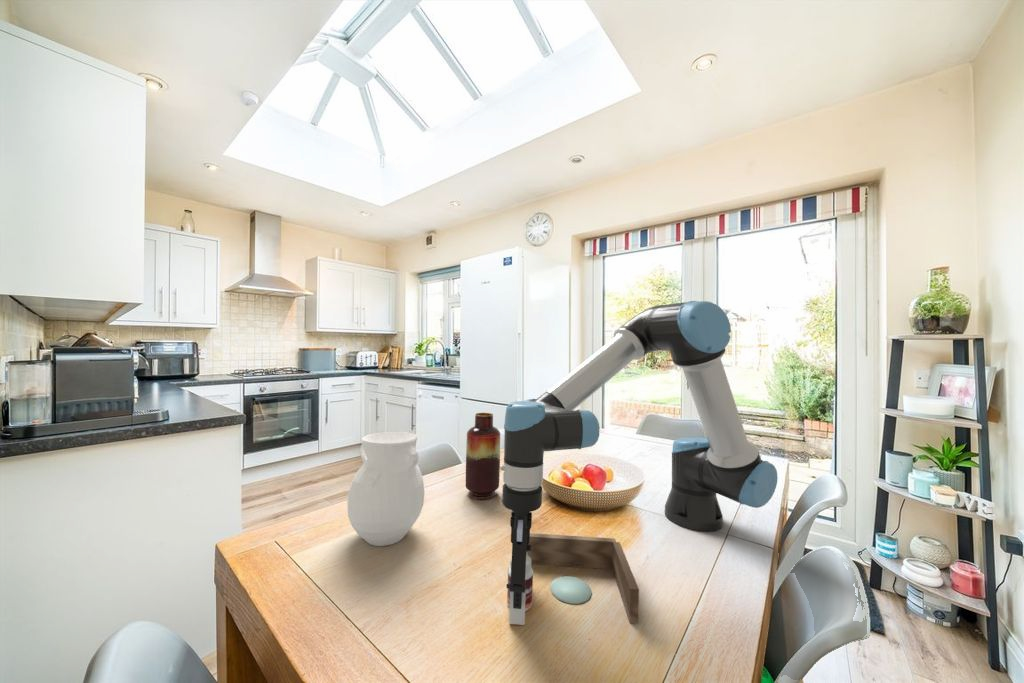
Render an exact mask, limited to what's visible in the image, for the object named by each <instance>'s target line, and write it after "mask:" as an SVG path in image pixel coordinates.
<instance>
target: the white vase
mask: <svg viewBox="0 0 1024 683" xmlns="http://www.w3.org/2000/svg"><path fill="white" fill-rule="evenodd" d="M417 440H418V437H417V435H416V434H415V433H414V432H410V431H403V430H390V431H389V430H388V431H387V430H386V431H378V432H373V433H369V434H366V435H364V436H363V437H362V438H361V440H360V441H361V445H360V447H359V449H358V450H359V451H358V452H359V454H360V459H361V461H362V465H361V466H360V467H359V468H358V469H357V472H355V474H354V476H353V478H352V481H351V483H350V485H349V488H348V494H347V517H348V521H349V522H350V525H351V527H352V528H353V530H354V531H355V532H356V534H357V535H359V536H360V537H361V538H362V539H363V540H364V541H365V542H367V544H369V545H372V546H376V547H384V546H385V547H387V546H390V545H394V544H396V543H399V542H400V541H402V539H404V537H405V536H406V535H407V534H408V533H409V532H410V530H411V529H412V527H413V526H414V524H415V523H416V522H417V520H418V519H419V517H420V515H421V513H422V509H423V507H424V503H425V502H424V501H425V485H424V484H425V483H424V476H423V475H422V472H421V469H420V468H419V466H418V463H419V452H418V451H417V449H416V448H415V446H416V444H417Z"/></svg>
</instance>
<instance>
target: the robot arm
mask: <svg viewBox="0 0 1024 683" xmlns="http://www.w3.org/2000/svg"><path fill="white" fill-rule="evenodd" d="M730 322H731V321H730V319H729V317H728V316H727V314H726V312H725V310H724V309H722V308H721V307H720V306H719V305H718V304H715V303H714V302H712V301H707V300H701V301H698V300H690V301H686V302H677V303H670V304H660V305H655V306H651V307H648V308H647V309H644V310H643V311H641V312H639V313H637V315H635V316H633V317H632V318H630V319H629V320H627V321H626V322H625V323H623V324H622V325H621V326H619V327H618V328H617V329H616V330H615V331H614V333H613V337H612V338H611V339H610V340H609V341H607V342H606V343H604V345H602V346H601V347H600V348H599V349H597V350H596V351H595V352H594V353H593V354H591V355H590V356H589V357H587V358H586V359H585V360H583V362H581V363H580V364H579V365H577V366H576V367H575V368H574V369H573V370H571V371H570V372H569V373H567V374H566V375H565V376H564V377H562V378H561V379H560V380H559V381H558V382H557V383H554V385H552V386H551V387H550V388H549V389H547V390H546V391H545V392H544V393H543V394H541V395H540V396H538V397H537V398H528V399H526V400H518V401H512V402H510V403H508V404H507V406H506V409H505V416H504V425H503V428H504V437H503V438H504V442H503V444H504V445H503V446H504V448H503V449H504V450H503V452H504V453H503V454H504V455H503V464H502V465H501V464H500V471H503V475H502V476H503V477H502V480H503V481H502V482H503V483H504V484H502V496H501V497H502V498H501V500H502V501H501V502H502V505H503V506H504V508H506V509H507V510H510V511H511V513H510V514H511V516H510V523H509V525H510V527H511V530H510V543H511V557H512V562H511V583H510V584H508V583H506V587H505V588H506V589H508V588H509V589H510V607H509V609H508V610H509V612H508V613H509V617H508V618H509V619H508V624H509V625H510V624H511V625H521V626H524V625H526V624H525V623H526V621H525V620H526V611H525V597H526V584H525V572H526V555H528V552H526V551H531V545H528V544H529V541H530V533H531V529H532V521H533V520H532V519H533V516H532V515H533V512H534V511H535V512H536V511H537V510H538V509H540V508H541V507H542V504H543V487H542V485H543V482H544V455H545V454H544V453H545V452H552V451H553V452H555V451H565V450H567V451H568V450H581V449H585V448H590V447H591V448H592V447H593V446H594V445H596V443H597V442H598V441H599V438H600V430H601V429H600V422H599V420H598V418H597V417H596V415H595V414H594V413H593V412H592V411H590V410H585V409H583V410H581V409H577V408H578V407H579V406H580V405H581V404H583V403H584V402H585V401H586V400H587V399H588V398H590V397H591V396H593V394H595V393H596V392H597V391H598V390H600V389H601V388H602V387H603V386H604V385H605V384H606V383H608V382H609V381H610V380H611V379H612V378H613V377H615V376H616V375H617V374H619V372H621V371H622V370H623V369H624V368H625V367H626V366H628V365H629V364H630V363H632V362H633V360H635V361H637V360H641V359H642V358H643V357H645V356H646V355H647V354H650V353H652V352H656V351H657V352H658V351H661V352H662V351H663V352H666V351H667V352H669V354H670V356H671V360H672V363H673V364H674V366H677V367H679V368H681V369H682V370H683V373H684V376H685V379H686V382H687V385H688V388H689V391H690V393H691V397H692V400H693V402H694V405H695V408H696V410H697V414H698V416H699V420H700V422H701V426H702V428H703V430H704V431H703V432H704V433H705V436H706V437H679V438H676V439H674V441H673V443H672V450H671V489H670V491H669V493H668V496H667V499H666V501H665V504H664V515H665V518H667V519H668V520H669V521H671V522H672V523H674V524H675V525H678V526H681V527H682V528H687V529H690V530H695V531H701V532H714V531H715V532H716V531H718V530H721V529H722V528H723V525H724V516H723V513H722V512H723V511H722V509H721V506H720V504H719V500H718V497H717V494H718V495H720V496H723V497H725V498H727V499H729V500H732V501H733V502H737V503H739V504H740V505H745V506H748V507H751V508H754V509H755V508H762V507H764V506H766V504H768V503H769V501H770V500H771V499H772V498H773V495H774V494H775V491H776V488H777V485H778V478H779V477H778V471H777V468H776V467H775V465H774V464H773V463H771V462H769V461H768V460H763V459H762V458H761V455H760V452H759V450H758V448H757V446H756V445H755V444H754V443H753V442H751V441H749V440H748V437H747V435H746V431H745V429H744V426H743V422H742V420H741V417H740V414H739V411H738V407H737V404H736V400H735V399H734V394H733V392H732V389H731V386H730V383H729V379H728V377H727V374H726V371H725V368H724V364H723V361H722V359H721V358H723V356H724V355H725V354H726V347H727V346H728V345H729V342H730V340H731V335H730V333H732V332H731V331H732V326H731V323H730ZM575 409H576V410H575Z"/></svg>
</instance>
